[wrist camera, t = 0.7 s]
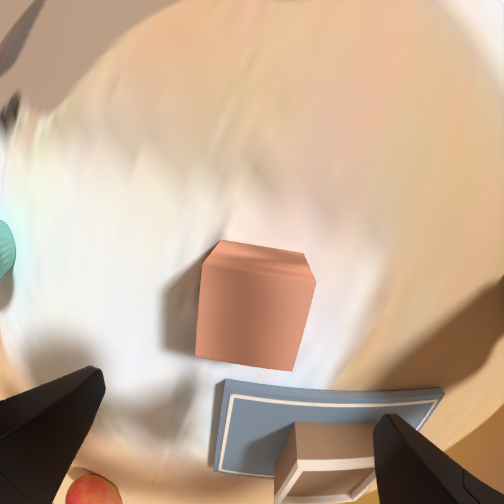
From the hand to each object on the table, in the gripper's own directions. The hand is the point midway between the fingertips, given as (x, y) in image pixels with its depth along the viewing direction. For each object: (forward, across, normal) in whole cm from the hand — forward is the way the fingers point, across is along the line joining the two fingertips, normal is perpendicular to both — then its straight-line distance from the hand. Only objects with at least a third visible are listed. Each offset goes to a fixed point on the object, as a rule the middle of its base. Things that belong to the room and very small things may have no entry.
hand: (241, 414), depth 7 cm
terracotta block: (+11, 0, 0) cm, 11 cm away
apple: (+11, +19, +41) cm, 47 cm away
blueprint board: (+11, -9, +15) cm, 20 cm away
